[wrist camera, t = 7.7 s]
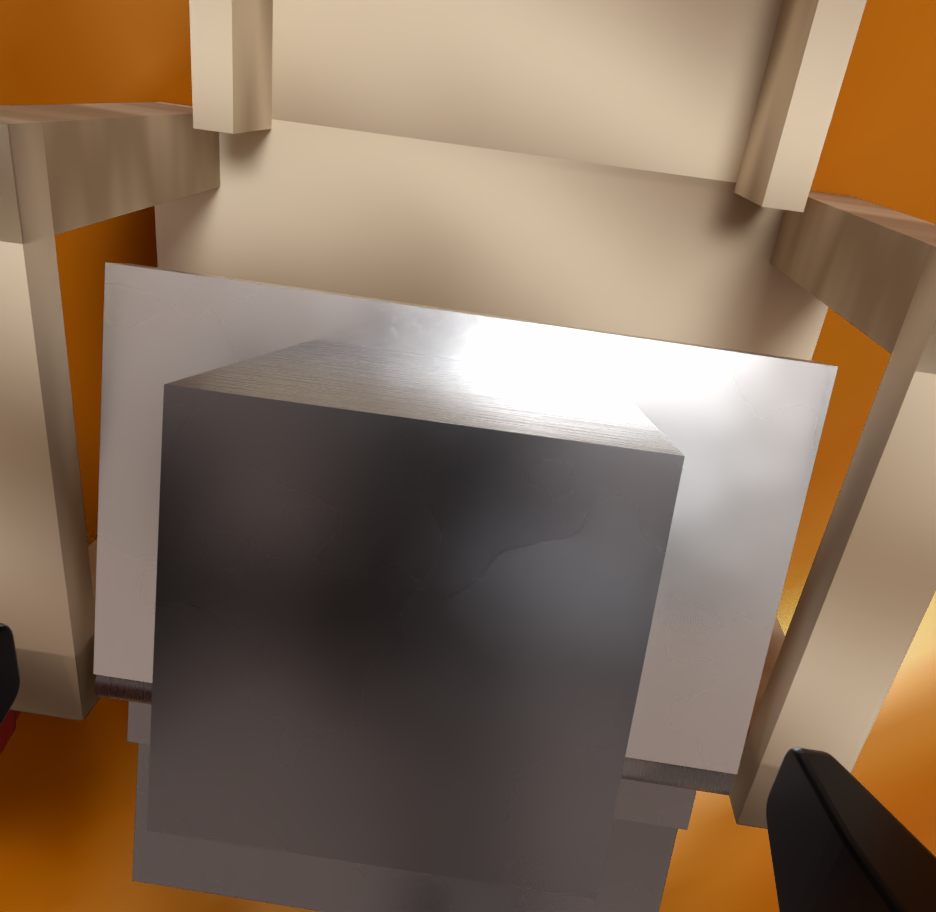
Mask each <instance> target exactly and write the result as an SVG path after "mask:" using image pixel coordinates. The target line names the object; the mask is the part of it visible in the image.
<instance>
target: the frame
mask: <svg viewBox="0 0 936 912" xmlns="http://www.w3.org/2000/svg"><path fill="white" fill-rule="evenodd" d="M866 1H867V0H189V5H190V37H191V70H192V103H193V106H187V105H180V104H172V103H165V102H136V103H94V104H52V105H10V106H0V623H3V624H5V625H8V626H9V627H10V629H11V630H12V632H13V636H14V642H15V648H16V654H17V660H18V666H19V672H20V687H19V691H18V694H17V697H16V699H15V701H14V703H13V705H12V706H11V708H10V710H16V711H23V712H29V713H35V714H42V715H48V716H54V717H61V718H67V719H74V720H80V721H83V720H84V719H85V718H86V716H87V715H88V714H89V712H90V711H91V709H92V708H93V707H94V705H95V704H96V703H97V701H98V700H99V698H100V697H98V696H96V694H95V689H94V686H95V680H96V676H97V675H96V674H93V672H94V637H95V602H96V567H97V539H96V540H95V541H94V542H93V543H92V544H91V545H90V546H89V547H88V541H87V532H86V523H85V513H84V504H83V495H82V486H81V477H80V468H79V458H78V449H77V440H76V431H75V422H74V412H73V403H72V394H71V385H70V376H69V367H68V357H67V348H66V339H65V330H64V321H63V311H62V302H61V293H60V284H59V275H58V265H57V256H56V247H55V238H54V235H56V234H60V233H63V232H66V231H70V230H73V229H77V228H80V227H83V226H87V225H90V224H94V223H97V222H101V221H104V220H107V219H111V218H114V217H118V216H121V215H125V214H128V213H131V212H135V211H138V210H142V209H145V208H148V207H152V206H154V207H155V226H156V244H157V263H158V268H165V269H172V270H179V271H186V272H193V273H200V274H207V275H214V276H221V277H228V278H235V279H242V280H249V281H256V282H263V283H270V284H277V285H284V286H292V287H299V288H306V289H313V290H320V291H327V292H334V293H341V294H348V295H355V296H362V297H369V298H376V299H383V300H390V301H397V302H404V303H411V304H418V305H425V306H432V307H439V308H446V309H453V310H460V311H467V312H474V313H481V314H488V315H495V316H502V317H509V318H516V319H523V320H530V321H537V322H544V323H551V324H558V325H565V326H572V327H579V328H586V329H593V330H600V331H607V332H614V333H621V334H628V335H635V336H642V337H649V338H656V339H663V340H671V341H678V342H685V343H692V344H699V345H706V346H713V347H720V348H727V349H734V350H741V351H748V352H755V353H762V354H769V355H776V356H783V357H790V358H797V359H804V360H811V359H812V356H813V353H814V350H815V347H816V343H817V340H818V337H819V334H820V331H821V328H822V325H823V322H824V319H825V316H826V313H827V310H828V307H829V308H831V309H832V310H833V311H835V312H836V313H837V314H839V315H840V316H841V317H843V318H844V319H845V320H847V321H848V322H849V323H851V324H852V325H854V326H855V327H856V328H858V329H859V330H860V331H862V332H863V333H864V334H866V335H867V336H868V337H870V338H871V339H872V340H874V341H875V342H876V343H878V344H879V345H880V346H882V347H883V348H884V349H886V350H887V351H888V352H890V353H891V357H890V360H889V362H888V365H887V368H886V370H885V373H884V376H883V378H882V381H881V384H880V386H879V389H878V392H877V394H876V397H875V400H874V402H873V405H872V408H871V410H870V413H869V416H868V418H867V421H866V424H865V426H864V429H863V432H862V434H861V437H860V439H859V442H858V445H857V447H856V450H855V453H854V455H853V458H852V461H851V463H850V466H849V469H848V471H847V474H846V477H845V479H844V482H843V485H842V487H841V490H840V493H839V495H838V498H837V501H836V503H835V506H834V509H833V511H832V514H831V517H830V519H829V522H828V525H827V527H826V530H825V533H824V535H823V538H822V540H821V543H820V546H819V548H818V551H817V554H816V556H815V559H814V562H813V564H812V567H811V570H810V572H809V575H808V578H807V580H806V583H805V586H804V588H803V591H802V594H801V596H800V599H799V602H798V604H797V607H796V610H795V612H794V615H793V618H792V620H791V623H790V626H789V628H788V631H787V633H786V636H785V635H784V633H783V631H782V629H781V626H780V624H779V622H778V620H777V617H776V619H775V623H774V627H773V631H772V635H771V639H770V643H769V647H768V651H767V655H766V659H765V663H764V667H763V671H762V675H761V679H760V683H759V687H758V691H757V696H756V700H755V704H754V708H753V712H752V716H751V720H750V724H749V728H748V732H747V736H746V740H745V744H744V748H743V752H742V756H741V760H740V764H739V768H738V772H737V774H734V783H733V788H732V791H731V793H730V794H729V797H730V801H731V804H732V808H733V812H734V816H735V819H736V823H737V824H740V825H746V826H752V827H759V828H765V829H768V827H767V820H766V804H767V799H768V795H769V793H770V790H771V788H772V785H773V783H774V780H775V778H776V776H777V773H778V771H779V768H780V766H781V763H782V761H783V759H784V756H785V755H786V753H787V751H788V750H789V749H791V748H794V747H800V748H806V749H813V750H819V751H824V752H827V753H829V754H830V755H832V756H833V757H834V758H835V759H836V760H837V761H838V762H839V763H840V764H841V765H842V766H844V767H845V768H846V769H847V770H848V771H849V772H850V773H851V771H852V769H853V766H854V764H855V762H856V760H857V758H858V756H859V754H860V751H861V749H862V747H863V745H864V743H865V741H866V739H867V736H868V734H869V732H870V730H871V728H872V726H873V724H874V721H875V719H876V717H877V715H878V713H879V711H880V709H881V707H882V704H883V702H884V700H885V698H886V696H887V694H888V692H889V689H890V687H891V685H892V683H893V681H894V679H895V677H896V674H897V672H898V670H899V668H900V666H901V664H902V662H903V659H904V657H905V655H906V653H907V651H908V649H909V647H910V644H911V642H912V640H913V638H914V636H915V634H916V632H917V629H918V627H919V625H920V623H921V621H922V619H923V617H924V614H925V612H926V610H927V608H928V606H929V604H930V602H931V599H932V597H933V595H934V593H935V591H936V224H934V223H931V222H928V221H925V220H922V219H919V218H916V217H913V216H910V215H907V214H904V213H901V212H898V211H895V210H892V209H889V208H886V207H883V206H880V205H877V204H874V203H871V202H868V201H865V200H862V199H859V198H856V197H851V196H844V195H836V194H829V193H822V192H814V191H810V188H811V185H812V182H813V178H814V175H815V172H816V168H817V165H818V162H819V158H820V155H821V152H822V148H823V145H824V142H825V138H826V135H827V132H828V128H829V125H830V122H831V118H832V115H833V112H834V108H835V105H836V101H837V98H838V95H839V91H840V88H841V85H842V81H843V78H844V75H845V71H846V68H847V65H848V61H849V58H850V55H851V51H852V48H853V45H854V41H855V38H856V35H857V31H858V28H859V25H860V21H861V18H862V15H863V11H864V8H865V5H866Z"/></svg>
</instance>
